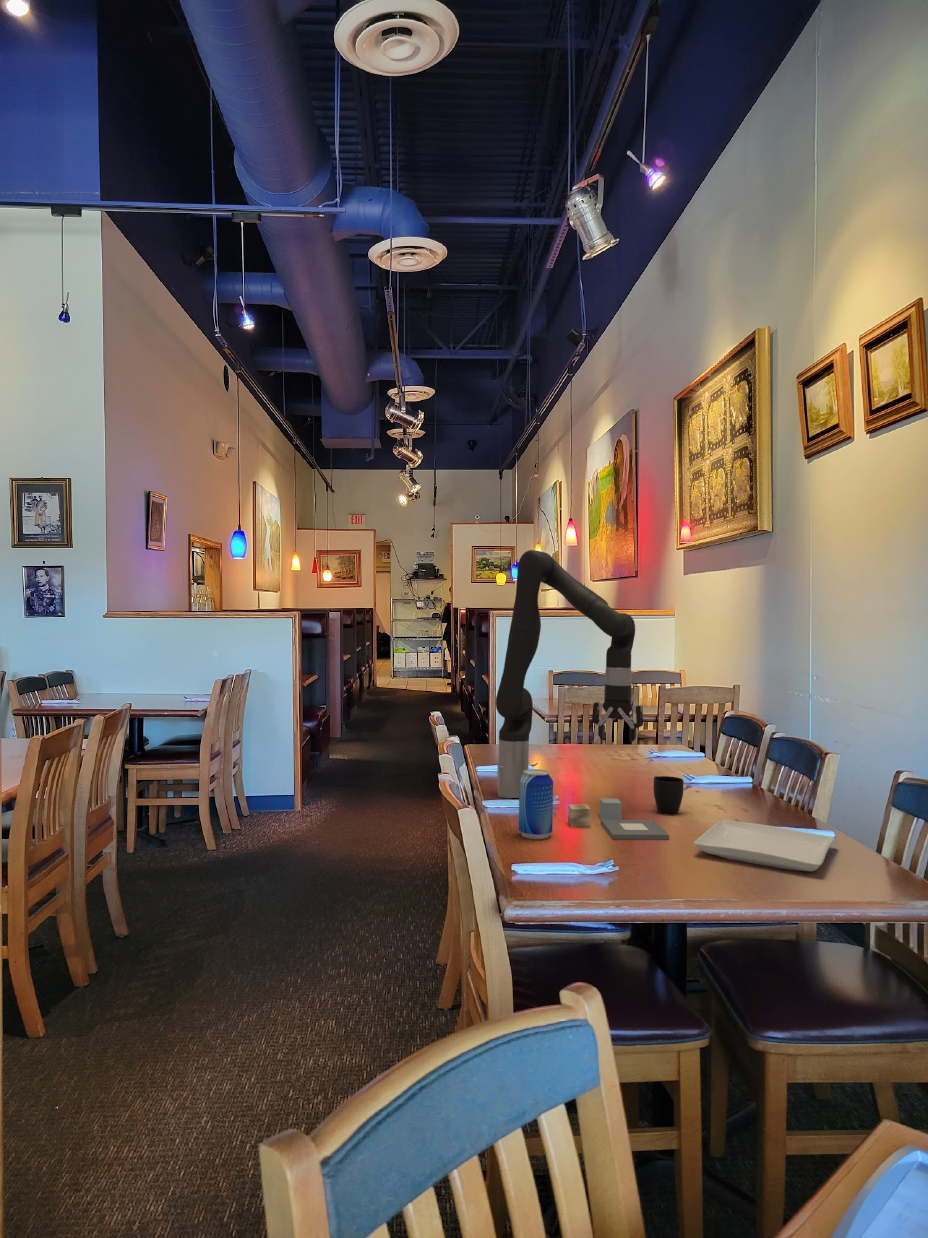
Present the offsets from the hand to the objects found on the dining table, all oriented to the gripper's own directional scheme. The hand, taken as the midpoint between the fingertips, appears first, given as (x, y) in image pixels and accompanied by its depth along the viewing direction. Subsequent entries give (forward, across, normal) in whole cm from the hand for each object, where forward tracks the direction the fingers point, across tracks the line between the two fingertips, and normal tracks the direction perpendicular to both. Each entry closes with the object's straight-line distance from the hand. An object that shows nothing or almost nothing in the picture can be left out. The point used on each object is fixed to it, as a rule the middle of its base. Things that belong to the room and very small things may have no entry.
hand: (616, 740), depth 218 cm
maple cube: (+20, -4, -19) cm, 28 cm away
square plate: (+21, +42, -18) cm, 51 cm away
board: (+20, +11, -18) cm, 29 cm away
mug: (+20, +12, +9) cm, 25 cm away
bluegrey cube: (+20, +1, -8) cm, 22 cm away
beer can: (+20, -9, -35) cm, 41 cm away
